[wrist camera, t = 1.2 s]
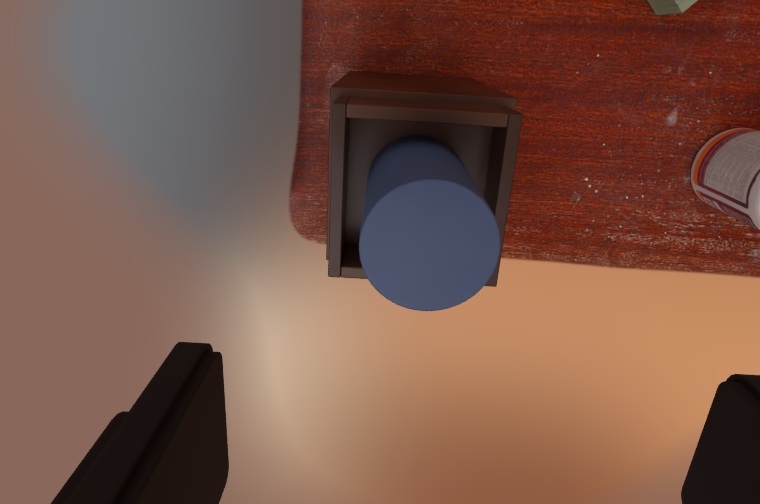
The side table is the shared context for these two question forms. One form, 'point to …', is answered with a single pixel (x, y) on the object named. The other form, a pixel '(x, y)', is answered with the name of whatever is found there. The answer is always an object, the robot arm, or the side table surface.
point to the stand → (405, 118)
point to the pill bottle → (730, 174)
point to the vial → (426, 227)
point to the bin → (670, 6)
